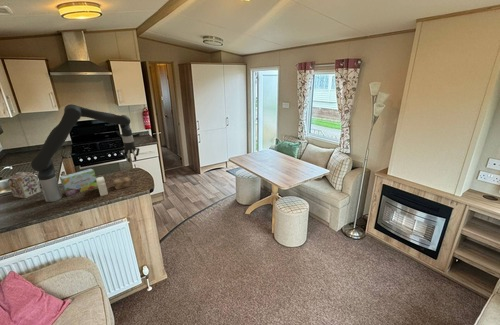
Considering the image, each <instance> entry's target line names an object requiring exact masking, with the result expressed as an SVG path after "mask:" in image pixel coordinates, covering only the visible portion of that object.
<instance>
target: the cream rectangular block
mask: <svg viewBox="0 0 500 325" xmlns="http://www.w3.org/2000/svg"><path fill="white" fill-rule="evenodd" d="M96 181H97V185H98V187H97V188H98V192H99V195H100V197H103V196H104V197H105V196H107V195H108V194H109V192H108V187H107V184H106V181H105V177H104V176H98V177H96Z"/></svg>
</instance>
